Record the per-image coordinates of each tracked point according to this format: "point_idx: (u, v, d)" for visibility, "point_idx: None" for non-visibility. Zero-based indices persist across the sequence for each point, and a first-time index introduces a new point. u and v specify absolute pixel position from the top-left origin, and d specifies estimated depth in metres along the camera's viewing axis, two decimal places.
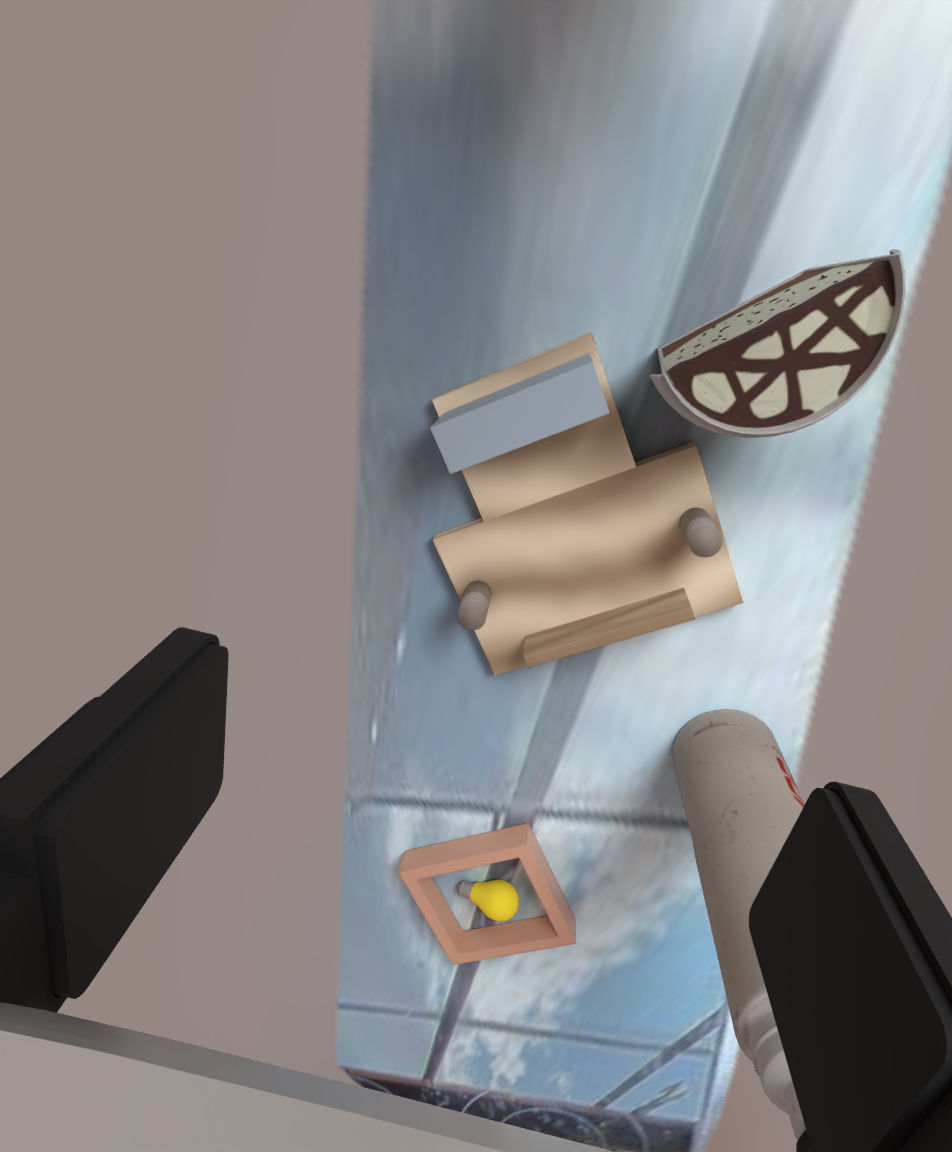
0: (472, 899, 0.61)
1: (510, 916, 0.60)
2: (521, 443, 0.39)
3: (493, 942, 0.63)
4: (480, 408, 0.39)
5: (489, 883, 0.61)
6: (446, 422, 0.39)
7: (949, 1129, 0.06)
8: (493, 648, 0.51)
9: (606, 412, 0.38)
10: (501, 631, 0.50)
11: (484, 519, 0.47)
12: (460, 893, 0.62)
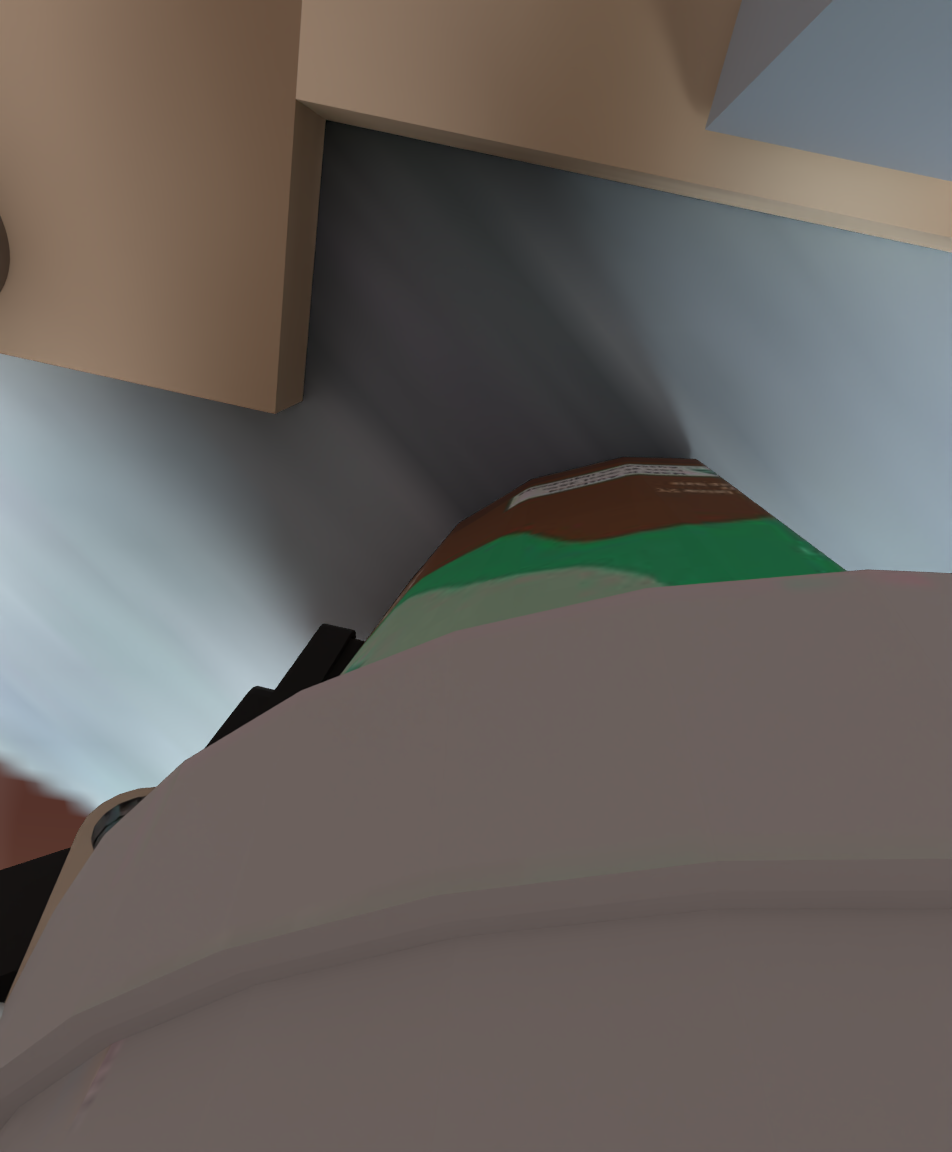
0: None
1: None
2: None
3: None
4: None
5: None
6: None
7: None
8: None
9: None
10: None
11: None
12: None
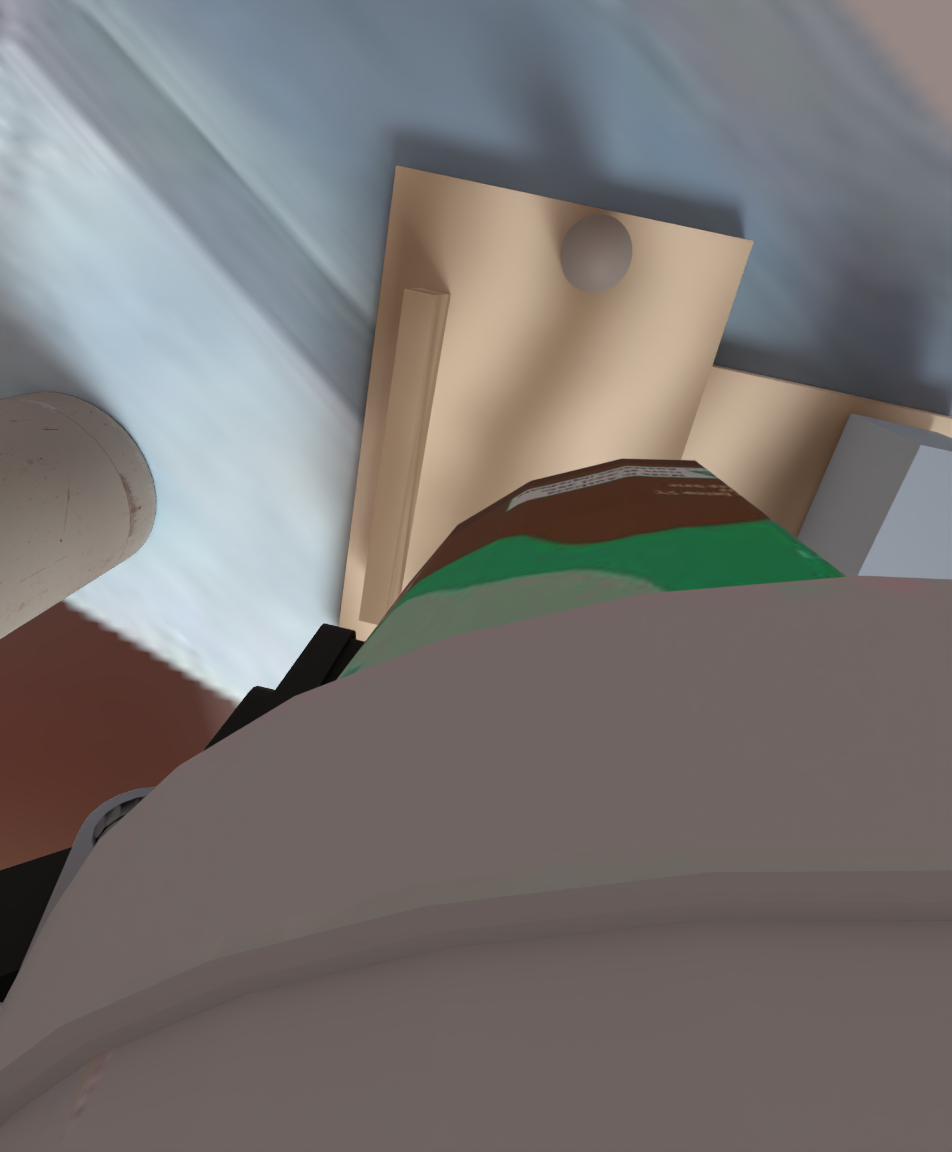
0: None
1: None
2: None
3: None
4: None
5: None
6: None
7: None
8: (458, 205, 0.22)
9: None
10: (485, 250, 0.23)
11: (714, 370, 0.23)
12: None
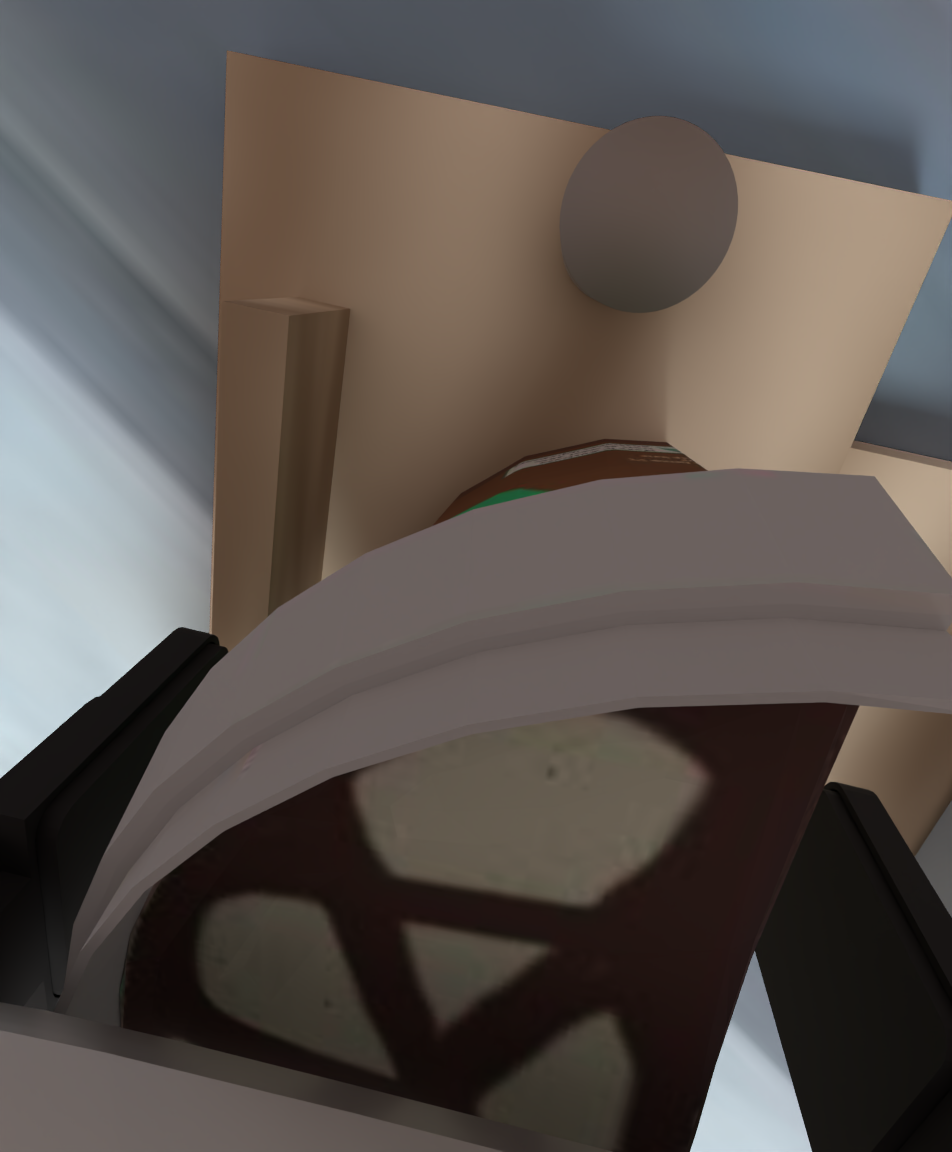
0: None
1: None
2: None
3: None
4: None
5: None
6: None
7: (948, 1128, 0.06)
8: (355, 132, 0.11)
9: None
10: (413, 224, 0.12)
11: (854, 455, 0.12)
12: None
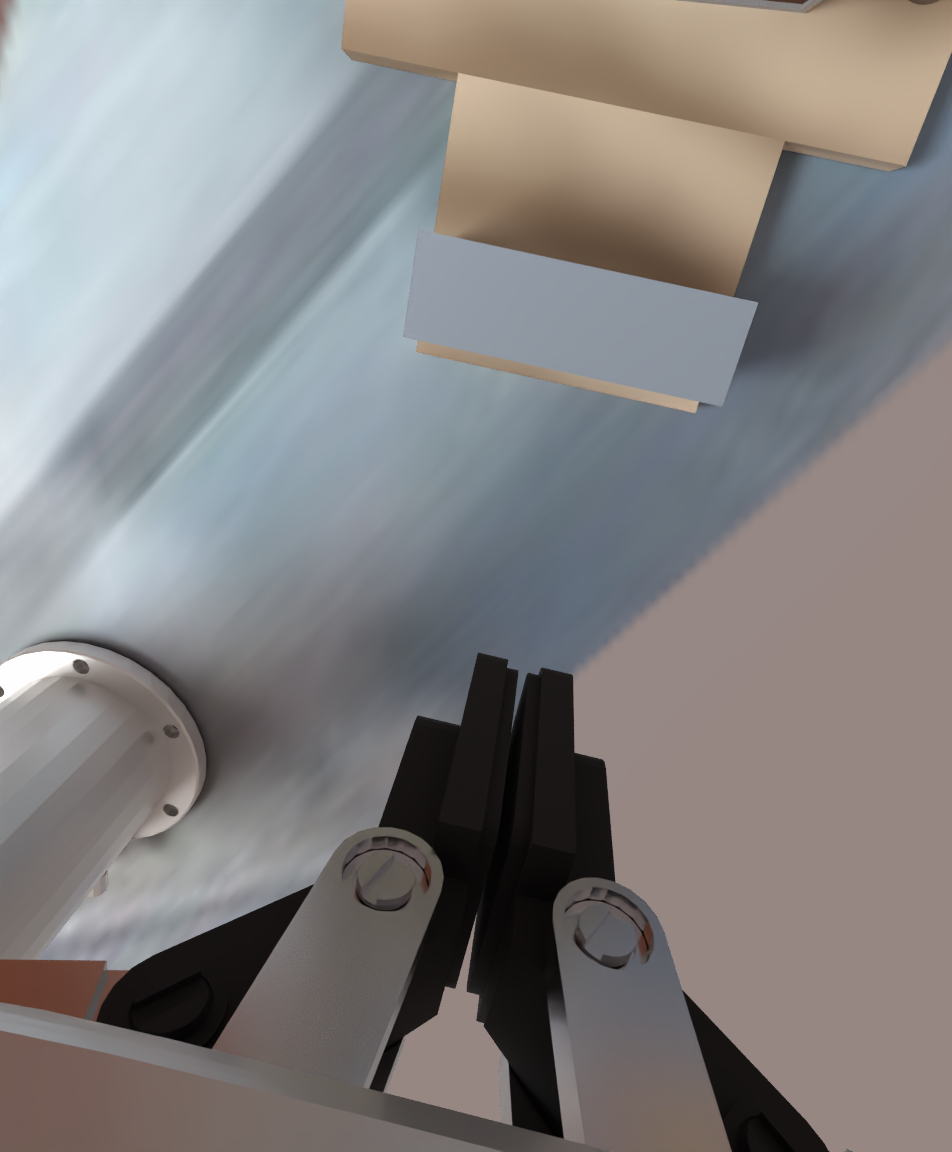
0: None
1: None
2: (595, 274, 0.19)
3: None
4: (619, 381, 0.20)
5: None
6: (689, 397, 0.20)
7: None
8: None
9: (423, 233, 0.19)
10: None
11: (780, 144, 0.22)
12: None
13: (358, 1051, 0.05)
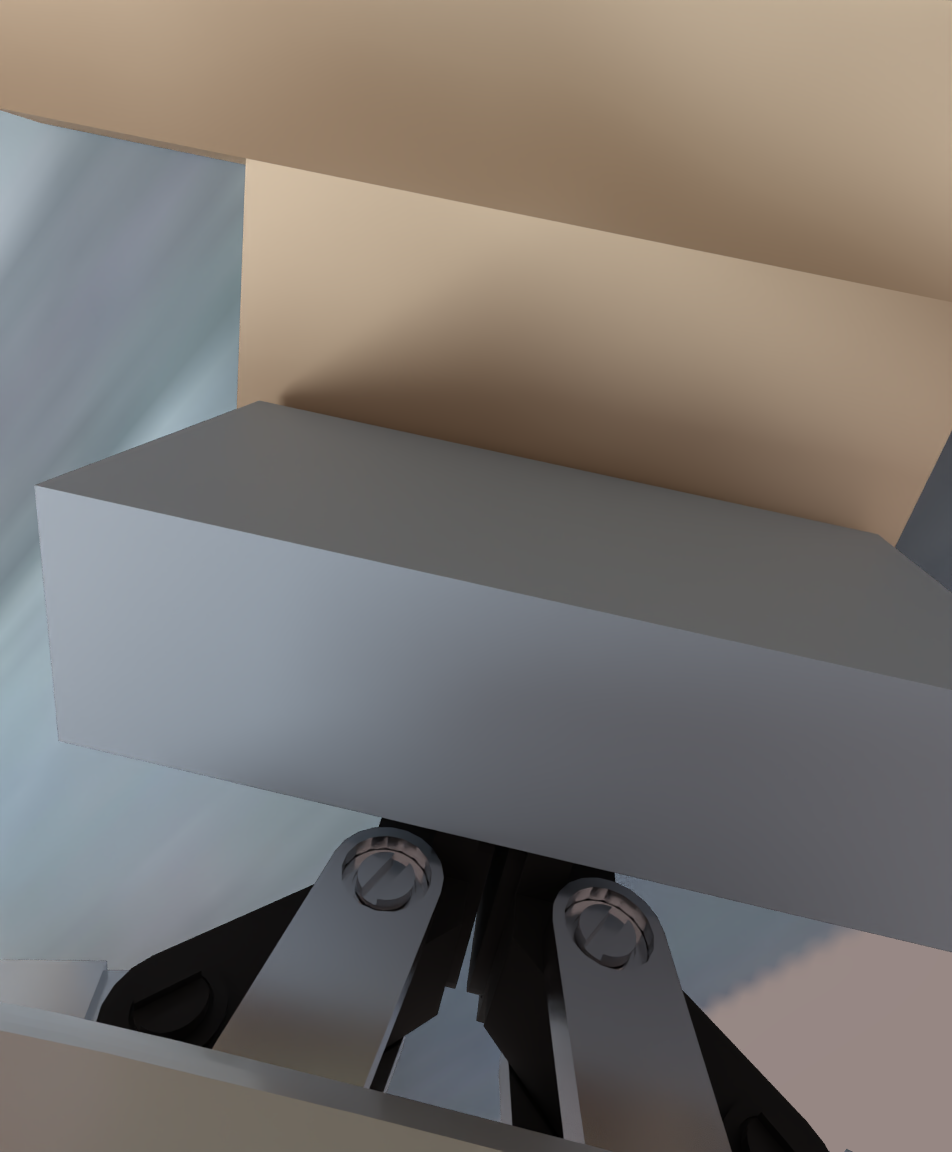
0: None
1: None
2: (590, 629, 0.06)
3: None
4: (660, 877, 0.07)
5: None
6: (862, 924, 0.07)
7: None
8: None
9: (50, 498, 0.06)
10: None
11: None
12: None
13: (358, 1051, 0.05)
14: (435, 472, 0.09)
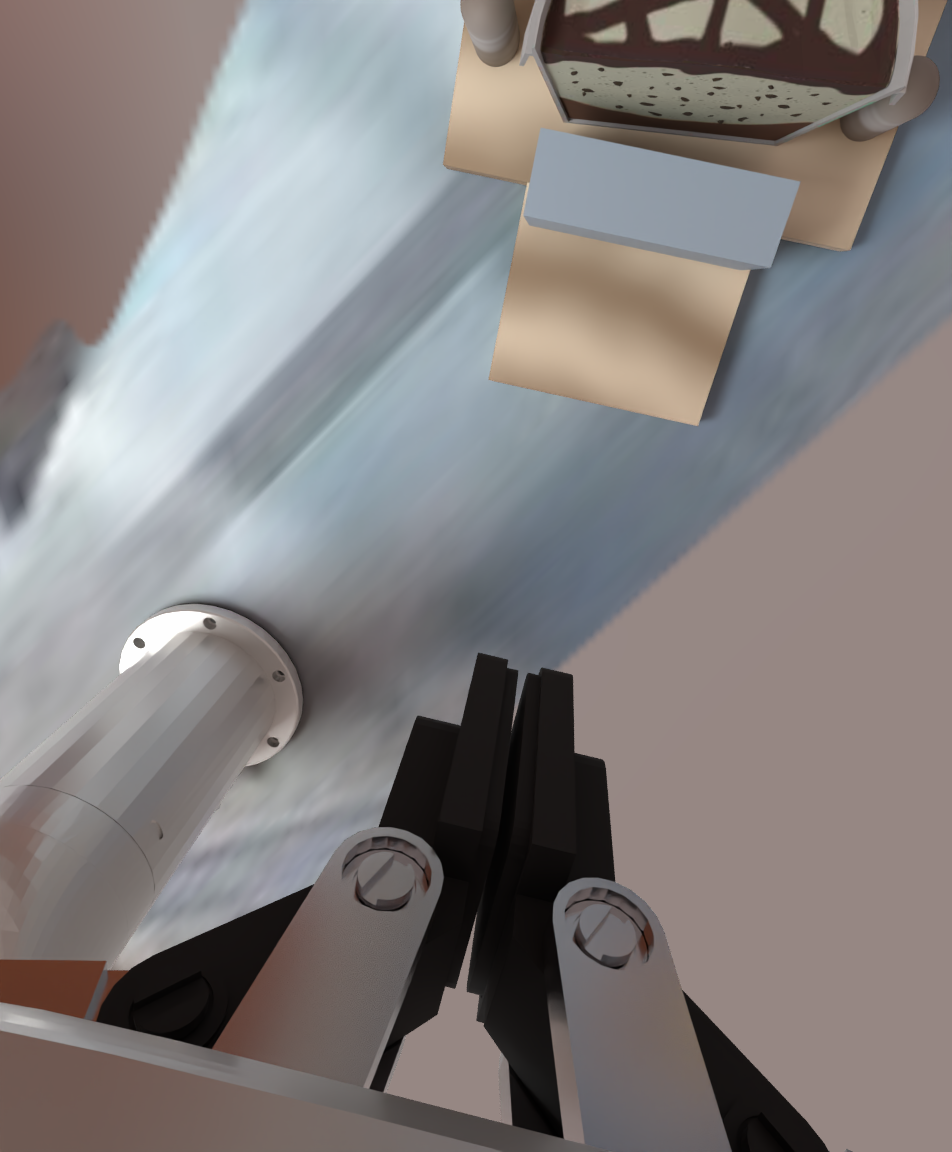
0: None
1: None
2: (676, 161, 0.25)
3: None
4: (690, 249, 0.26)
5: None
6: (745, 260, 0.26)
7: None
8: None
9: (544, 131, 0.25)
10: None
11: None
12: None
13: (358, 1051, 0.05)
14: None
